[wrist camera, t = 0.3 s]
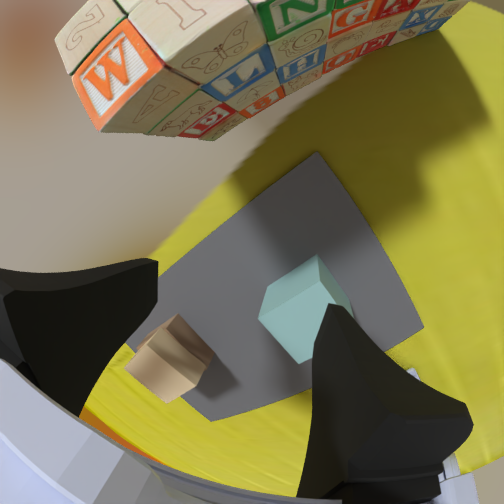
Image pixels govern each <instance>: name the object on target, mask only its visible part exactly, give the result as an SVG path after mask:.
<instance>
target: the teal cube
mask: <svg viewBox="0 0 504 504" xmlns="http://www.w3.org/2000/svg"><path fill="white" fill-rule="evenodd" d="M328 303H331V304H336V305H341V306H343V307H344V308H345V309H346V310H347V311H348V312H349V313H350V314H351V316H352V317H353V313H352V309H351V305H350V301H349V299H348V297H347V296H346V294H345V293H344V291H343V290H342V288H341V287H340V286H339V284H338V283H337V281H336V280H335V278H334V277H333V276H332V274H331V273H330V271H329V270H328V268H327V267H326V266H325V264H324V263H323V262H322V260H321V259H320V257H319V256H318V255H317V254H316V255H315V256H313V257H312V258H310V259H309V260H307V261H306V262H304V263H303V264H301V265H300V266H298V267H297V268H295V269H294V270H292V271H291V272H289V273H288V274H286V275H284V276H283V277H281V278H280V279H278V280H277V281H275V282H274V283H272V284H271V285H269V286H268V287H267V290H266V293H265V296H264V300H263V303H262V306H261V309H260V313H259V316H258V320H259V321H260V322H261V323H262V324H263V325H264V326H265V327H266V329H267V330H268V331H269V332H270V333H271V334H272V335H273V336H274V338H275V339H276V340H277V341H278V342H279V343H280V344H281V345H282V346H283V348H284V349H285V350H286V351H287V352H288V353H289V354H290V355H291V356H292V357H293V359H294V360H295V361H296V362H297V363H298V364H300V363H302V362H304V361H306V360H308V359H310V358H312V355H313V347H314V341H315V339H316V336H317V333H318V331H319V328H320V325H321V322H322V320H323V317H324V314H325V311H326V308H327V305H328ZM353 318H354V317H353Z"/></svg>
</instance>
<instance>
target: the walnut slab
mask: <svg viewBox="0 0 504 504" xmlns="http://www.w3.org/2000/svg"><path fill="white" fill-rule="evenodd" d="M160 328H162V329H163V330H164V331H165V332H167V333H168V334H169V335H170V336H171V337H172V338H173V339H175V340H176V341H177V342H178V343H179V344H180V345H181V346H183V347H184V348H185V349H186V350H187V351H189V352H190V353H191V354H192V355H193V356H195V357H196V358H197V359H198V360H199V361H201V362H202V363H203V364H204V365H206V367H205V369H204V371H205V370H207V368H208V366H209V364H210V362H211V360H212V357H213V355H214V353H215V352H214V351H213V350H212V349H211V348H210V347H209V346H208V345H207V344H206V343H205V342H204V340H203V339H202V338H201V337H200V336H199V335H198V334H197V333H196V332H195V331H194V330H193V329H192V328H191V327H190V326H189V324H188V323H187V322H186V321H185V320H184V319H183V318H182V317H181V316H180V315H179V313H178V314H176V315H175V316H173V317H172V318H170V319H169V320H167V321H166V322H165V323H163V324H162V325H160V326H159V327H157V328H156V329H154V330H153V331H151V332H150V333H149V334H148V335H147V336H146V337H145V338H144V339H143V340H142V342H141V343H140V344H139V345H138V346H137V348H136V349H137V350H138V351H139V350H140V348H141V347H142V346H143V345H144V344H145V343H146V342H147V341H148V340H149V339H150V338H151V337H152V336H153V335H154V334H155V333H156V332H157V331H158V330H159V329H160Z"/></svg>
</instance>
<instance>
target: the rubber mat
mask: <svg viewBox="0 0 504 504" xmlns="http://www.w3.org/2000/svg"><path fill="white" fill-rule="evenodd" d="M316 254H317V255H318V256H319V257H320V259H321V260H322V262H323V263H324V264H325V266H326V267H327V268H328V270H329V271H330V273H331V274H332V276H333V277H334V278H335V280H336V281H337V283H338V284H339V286H340V287H341V288H342V290H343V291H344V293H345V294H346V296H347V297H348V299H349V301H350V305H351V309H352V313H353V317H354V319H355V321H356V322H357V323H358V324H359V325H360V327H361V328H362V329H363V330H364V331H365V333H366V334H367V335H368V336H369V337H370V338H371V339H372V340H373V342H374V343H375V344H376V345H377V346H378V347H379V348H380V349H381V350H382V351H383V352H385V351H387V350H388V349H390V348H392V347H394V346H395V345H397V344H399V343H400V342H402V341H403V340H405V339H407V338H408V337H410V336H412V335H413V334H415V333H416V332H418V331H419V330H421V329H422V328H424V326H423V324H422V321H421V319H420V317H419V315H418V313H417V311H416V309H415V307H414V305H413V303H412V301H411V299H410V297H409V295H408V293H407V291H406V289H405V287H404V285H403V283H402V281H401V279H400V277H399V276H398V274H397V272H396V270H395V268H394V266H393V265H392V263H391V261H390V259H389V258H388V256H387V254H386V252H385V251H384V249H383V247H382V246H381V244H380V242H379V241H378V239H377V237H376V236H375V234H374V232H373V231H372V229H371V228H370V226H369V224H368V223H367V221H366V220H365V218H364V217H363V215H362V213H361V212H360V210H359V209H358V207H357V206H356V204H355V203H354V201H353V200H352V198H351V197H350V196H349V194H348V193H347V191H346V190H345V188H344V187H343V185H342V184H341V183H340V181H339V180H338V178H337V177H336V176H335V174H334V173H333V172H332V170H331V169H330V168H329V166H328V165H327V164H326V162H325V161H324V160H323V158H322V157H321V156H320V154H319V153H318V152H315V153H314V154H313V155H311V156H310V157H309V158H307V159H306V160H305V161H303V162H302V163H300V164H299V165H298V166H296V167H295V168H294V169H292V170H291V171H290V172H288V173H287V174H286V175H284V176H283V177H282V178H280V179H279V180H278V181H277V182H275V183H274V184H273V185H271V186H270V187H269V188H267V189H266V190H265V191H264V192H262V193H261V194H260V195H258V196H257V197H256V198H255V199H253V200H252V201H251V202H249V203H248V204H247V205H246V206H244V207H243V208H242V209H241V210H239V211H238V212H237V213H236V214H234V215H233V216H232V217H231V218H229V219H228V220H227V221H226V222H224V223H223V224H222V225H221V226H219V227H218V228H217V229H216V230H214V231H213V232H212V233H211V234H210V235H208V236H207V237H206V238H205V239H203V240H202V241H201V242H200V243H199V244H197V245H196V246H195V247H194V248H193V249H191V250H190V251H189V252H188V253H187V254H185V255H184V256H183V257H182V258H181V259H180V260H178V261H177V262H176V263H175V264H174V265H172V266H171V267H170V268H169V269H168V270H167V271H165V272H164V273H163V274H162V275H161V276H160V277H159V278H158V302H157V304H156V305H155V307H154V309H153V310H152V312H151V313H150V315H149V316H148V317H147V319H146V320H145V321H144V322H143V323H142V324H141V325H140V327H139V328H138V329H137V330H136V331H135V332H134V333H133V334H132V335H131V336H130V337H129V339H128V340H127V341H126V342H125V343H126V344H127V345H128V346H129V347H130V348H131V349H132V350H133V351H134V352H135V353H137V352H138V350H137V349H136V348H137V346H138V345H139V344H140V343H141V342H142V340H143V339H144V338H145V337H146V336H147V335H148V334H149V333H150V332H151V331H153V330H154V329H156V328H157V327H159V326H160V325H162V324H163V323H165V322H166V321H167V320H169V319H170V318H172V317H173V316H175V315H176V314H178V313H179V315H180V316H181V317H182V318H183V319H184V320H185V321H186V322H187V323H188V324H189V326H190V327H191V328H192V329H193V330H194V331H195V332H196V333H197V334H198V335H199V336H200V337H201V338H202V339H203V340H204V342H205V343H206V344H207V345H208V346H209V347H210V348H211V349H212V350H213V351H214V352H215V353H214V355H213V357H212V360H211V362H210V364H209V366H208V368H207V370H205V371H203V373H202V376H201V378H200V380H199V382H198V384H197V386H195V387H194V388H192V389H191V390H189V391H187V392H186V393H184V394H182V395H181V397H182V398H183V399H184V400H185V401H186V402H187V403H189V404H190V405H191V406H192V407H193V408H195V409H196V410H197V411H198V412H199V413H201V414H202V415H203V416H204V417H206V418H207V419H208V420H210V421H211V422H212V421H216V420H219V419H223V418H227V417H230V416H234V415H237V414H240V413H244V412H247V411H250V410H253V409H256V408H259V407H262V406H265V405H268V404H271V403H274V402H277V401H279V400H282V399H285V398H287V397H290V396H293V395H295V394H298V393H300V392H303V391H305V390H307V389H310V388H312V358H310V359H308V360H306V361H304V362H302V363H300V364H298V363H297V362H296V361H295V360H294V359H293V357H292V356H291V355H290V354H289V353H288V352H287V351H286V350H285V349H284V348H283V346H282V345H281V344H280V343H279V342H278V341H277V340H276V339H275V338H274V336H273V335H272V334H271V333H270V332H269V331H268V330H267V329H266V327H265V326H264V325H263V324H262V323H261V322H260V321H259V320H258V316H259V313H260V309H261V306H262V303H263V300H264V296H265V293H266V290H267V287H268V286H269V285H271V284H272V283H274V282H275V281H277V280H278V279H280V278H281V277H283V276H284V275H286V274H288V273H289V272H291V271H292V270H294V269H295V268H297V267H298V266H300V265H301V264H303V263H304V262H306V261H307V260H309V259H310V258H312V257H313V256H315V255H316Z"/></svg>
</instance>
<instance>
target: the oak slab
mask: <svg viewBox="0 0 504 504" xmlns="http://www.w3.org/2000/svg"><path fill="white" fill-rule="evenodd" d="M205 367H206V365H204V364H203V363H202V362H201V361H199V360H198V359H197V358H196V357H195V356H193V355H192V354H191V353H190V352H189V351H187V350H186V349H185V348H184V347H183V346H181V345H180V344H179V343H178V342H177V341H176V340H175V339H173V338H172V337H171V336H170V335H169V334H168V333H167V332H165V331H164V330H163V329H162V328H160V329H159V330H158V331H157V332H156V333H155V334H154V335H153V336H152V337H151V338H150V339H149V340H148V341H147V342H146V343H145V344H144V345H143V346H142V347H141V348H140V350H139V351H138V352H137V353H136V354H135V355H134V356H133V358H132V359H131V360H130V361H129V363H128V364H127V365H126V366H125V367H124V369H125V370H126V371H127V372H129V373H130V374H131V375H132V376H133V377H134V378H135V379H137V380H138V381H139V382H140V383H141V384H143V385H144V386H145V387H146V388H148V389H149V390H150V391H151V392H153V393H154V394H155V395H156V396H158V397H159V398H160V399H162V400H163V401H164V402H166V403H169V402H170V401H172V400H174V399H176V398H177V397H179V396H181V395H182V394H184V393H186V392H187V391H189V390H191V389H192V388H194V387H195V386H197V384H198V382H199V380H200V378H201V376H202V373H203V371H204V369H205Z"/></svg>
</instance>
